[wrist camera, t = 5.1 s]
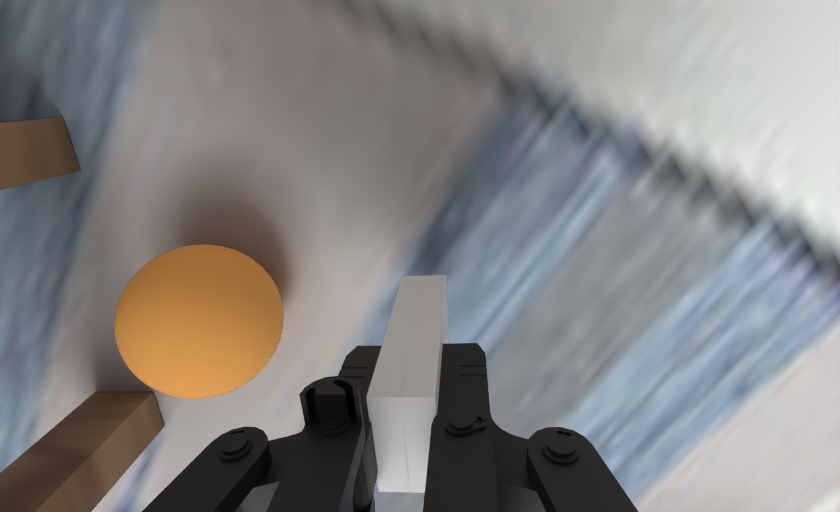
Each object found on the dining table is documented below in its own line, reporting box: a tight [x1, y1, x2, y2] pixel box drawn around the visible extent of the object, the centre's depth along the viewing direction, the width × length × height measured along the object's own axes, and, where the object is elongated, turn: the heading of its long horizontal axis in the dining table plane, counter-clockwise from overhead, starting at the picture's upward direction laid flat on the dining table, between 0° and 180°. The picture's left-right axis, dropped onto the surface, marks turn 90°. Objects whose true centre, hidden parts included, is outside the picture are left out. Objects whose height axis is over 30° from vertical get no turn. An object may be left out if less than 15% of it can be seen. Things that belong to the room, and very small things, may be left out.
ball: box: [115, 244, 284, 399], centre depth 17 cm, size 6×6×6 cm
